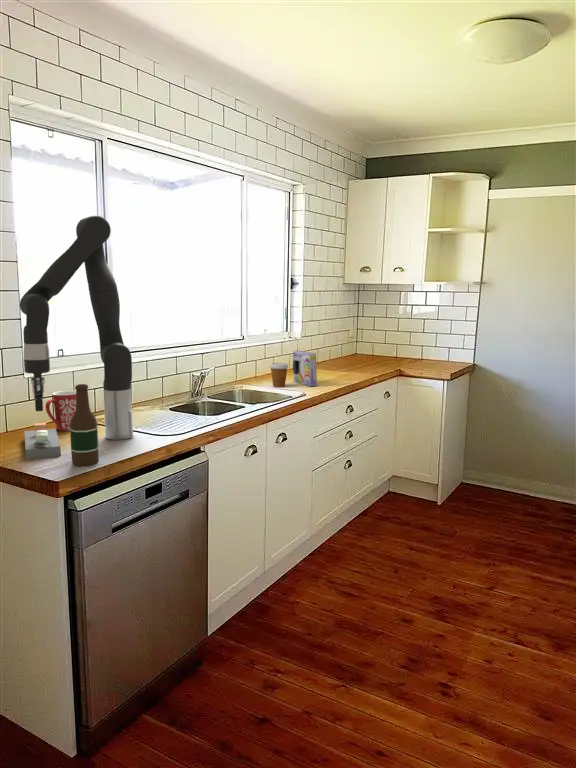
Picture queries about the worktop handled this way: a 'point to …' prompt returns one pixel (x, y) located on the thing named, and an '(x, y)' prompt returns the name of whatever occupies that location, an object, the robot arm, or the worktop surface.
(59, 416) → the mug
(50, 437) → the control panel
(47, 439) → the green push button
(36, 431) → the cream push button
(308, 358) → the cake pan box
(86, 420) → the beer bottle
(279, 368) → the disposable coffee cup
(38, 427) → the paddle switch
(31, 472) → the worktop surface
